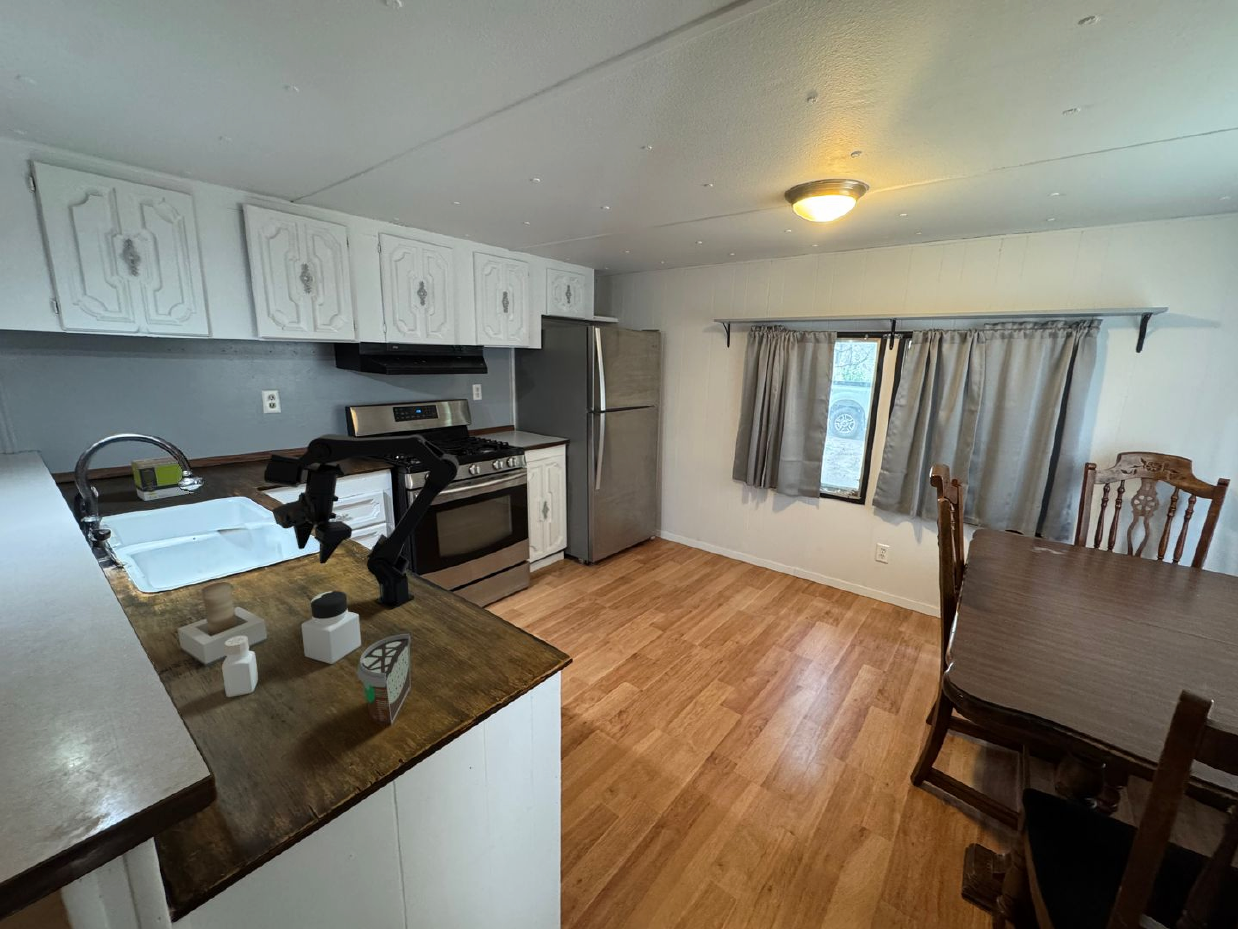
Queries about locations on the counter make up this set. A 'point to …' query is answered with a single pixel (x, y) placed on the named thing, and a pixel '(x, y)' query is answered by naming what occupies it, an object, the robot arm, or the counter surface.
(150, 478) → the tea box
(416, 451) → the robot arm
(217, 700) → the counter surface
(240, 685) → the pepper shaker
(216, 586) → the oak plug peg
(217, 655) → the socket block
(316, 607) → the medicine bottle
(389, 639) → the food container
